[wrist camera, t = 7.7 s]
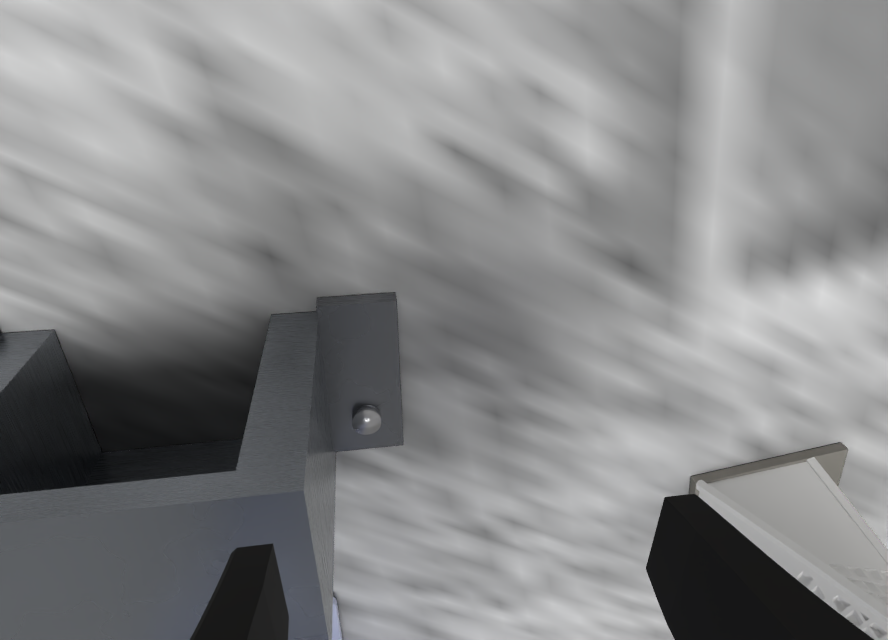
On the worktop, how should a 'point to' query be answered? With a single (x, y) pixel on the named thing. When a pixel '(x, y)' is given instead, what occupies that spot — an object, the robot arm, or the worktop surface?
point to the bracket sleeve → (186, 484)
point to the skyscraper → (807, 529)
